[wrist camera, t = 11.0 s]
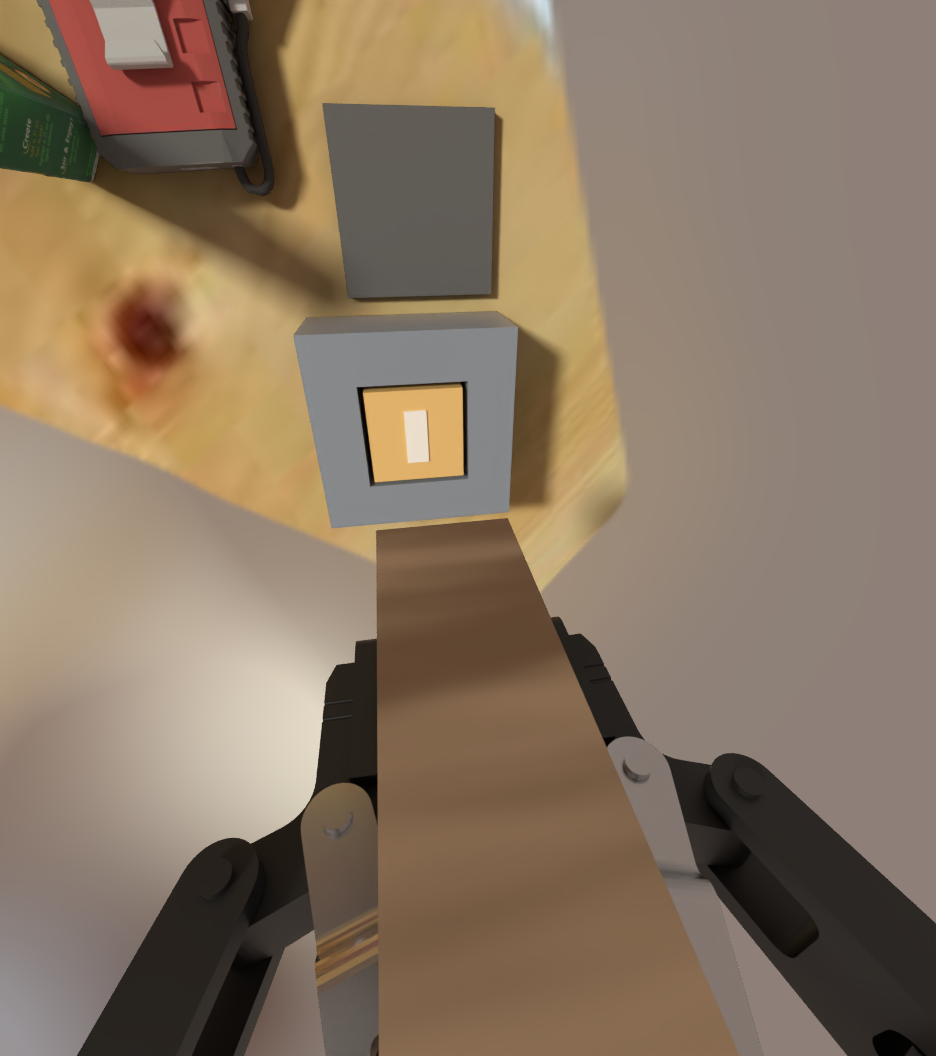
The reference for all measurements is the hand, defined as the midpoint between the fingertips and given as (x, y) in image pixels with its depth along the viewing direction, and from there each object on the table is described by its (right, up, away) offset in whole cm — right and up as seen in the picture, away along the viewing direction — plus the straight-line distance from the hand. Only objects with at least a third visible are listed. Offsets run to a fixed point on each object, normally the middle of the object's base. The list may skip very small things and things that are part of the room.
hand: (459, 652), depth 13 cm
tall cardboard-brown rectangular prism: (-1, +2, +3) cm, 3 cm away
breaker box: (-3, +11, +18) cm, 21 cm away
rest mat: (-3, +20, +12) cm, 23 cm away
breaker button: (-3, +11, +17) cm, 20 cm away
